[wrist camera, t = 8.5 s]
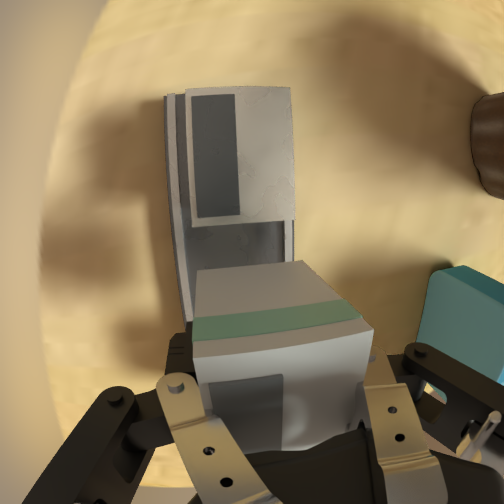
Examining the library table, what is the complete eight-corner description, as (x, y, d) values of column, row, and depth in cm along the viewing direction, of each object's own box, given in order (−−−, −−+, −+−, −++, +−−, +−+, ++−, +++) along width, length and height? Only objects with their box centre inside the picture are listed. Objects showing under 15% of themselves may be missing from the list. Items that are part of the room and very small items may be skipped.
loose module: (196, 269, 12) (191, 361, 6) (303, 259, 12) (378, 331, 7) (212, 381, 13) (222, 483, 8) (299, 369, 14) (343, 459, 8)
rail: (167, 101, 17) (144, 62, 10) (283, 97, 18) (325, 61, 11) (200, 393, 24) (203, 459, 16) (286, 382, 25) (310, 444, 17)
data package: (435, 353, 28) (495, 410, 17) (408, 364, 27) (469, 429, 16) (457, 260, 25) (542, 304, 13) (429, 266, 24) (522, 318, 13)
